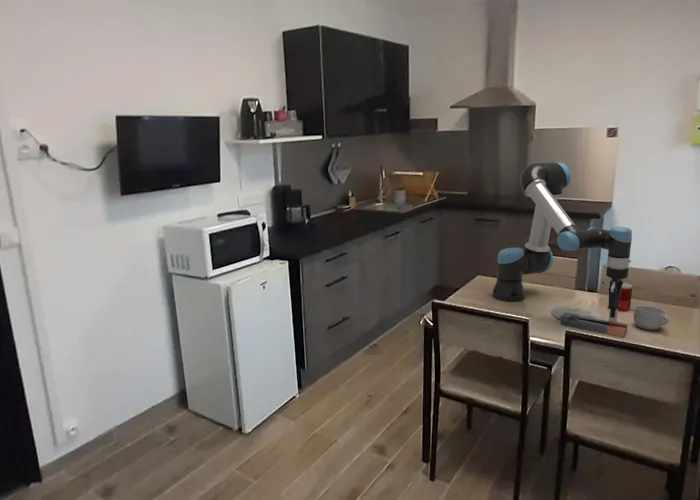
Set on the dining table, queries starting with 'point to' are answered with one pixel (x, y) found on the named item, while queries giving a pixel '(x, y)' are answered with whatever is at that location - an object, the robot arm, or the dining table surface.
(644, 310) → the teacup
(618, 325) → the arm
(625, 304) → the canned food
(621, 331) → the tongs base
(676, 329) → the dining table surface
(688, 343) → the dining table surface
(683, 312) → the dining table surface
